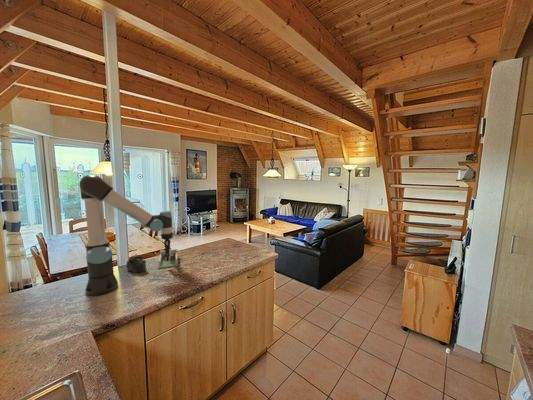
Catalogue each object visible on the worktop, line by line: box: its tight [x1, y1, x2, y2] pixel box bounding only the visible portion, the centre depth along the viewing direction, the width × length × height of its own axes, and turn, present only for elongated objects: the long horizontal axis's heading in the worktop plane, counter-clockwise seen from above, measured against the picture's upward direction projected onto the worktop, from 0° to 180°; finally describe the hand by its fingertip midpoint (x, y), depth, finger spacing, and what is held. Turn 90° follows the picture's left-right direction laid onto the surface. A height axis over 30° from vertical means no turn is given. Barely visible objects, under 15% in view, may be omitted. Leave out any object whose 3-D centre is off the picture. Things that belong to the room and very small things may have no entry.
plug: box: [164, 251, 174, 261], centre depth 177 cm, size 7×6×5 cm
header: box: [157, 248, 179, 270], centre depth 173 cm, size 20×13×7 cm, turn 21°
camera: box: [126, 255, 147, 274], centre depth 159 cm, size 13×10×10 cm
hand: (168, 261), depth 168 cm, fingers open, 13 cm apart
